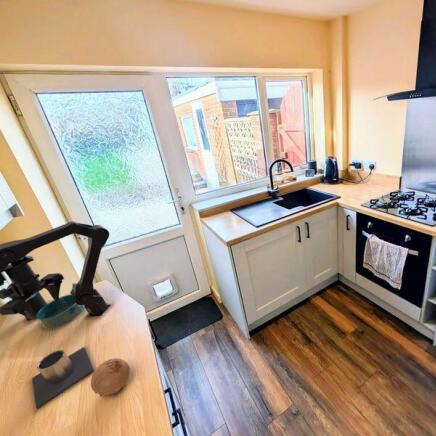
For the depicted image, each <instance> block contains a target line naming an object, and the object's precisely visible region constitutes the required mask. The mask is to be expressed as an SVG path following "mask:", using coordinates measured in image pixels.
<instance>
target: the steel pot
mask: <svg viewBox="0 0 436 436" xmlns="http://www.w3.org/2000/svg"><path fill="white" fill-rule="evenodd" d="M68 356H69V355H68V354H67V353H66V352H65V351H64V350H63V349H58V350H55V351H52V352H50V353H49V354H47V355H46V356H44V357H43V358H42V359H41V360H40V361H39V362H38V363H37V365H36V369H37V370H38V371H39V374H40V373H41V374H42V375H43V376H44V377H45V379H46V380H47V381H48V382H49V383H50V384H57V383H59V382H61V381H63V380H65V379H66V378H67V377H68V376H70V375H71V373H72V372H73V371H74V368H75V366H74V364H73V363H72V361H71V360H70V359H69V357H68Z"/></svg>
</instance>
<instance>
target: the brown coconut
mask: <svg viewBox="0 0 436 436" xmlns="http://www.w3.org/2000/svg"><path fill="white" fill-rule="evenodd" d="M130 374H131V367H130V364H129V363H128V362H127V361H126V360H125V359H121V358H117V357H116V358H110V359H107V360H105V361H103V362H102V363H100V364H99V365H98V366H97V367H96V368H95V370H94V372H92V375H91V379H90V387H91V390H92V391H93V392H94V393H95V394H98V395H99V396H100V397H103V396H107V395H109V396H110V395H113V394H117V393H119V392H120V391H121V389H122V388H124V386H125V385H126V383H127V382H128V380H129V377H130Z"/></svg>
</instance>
